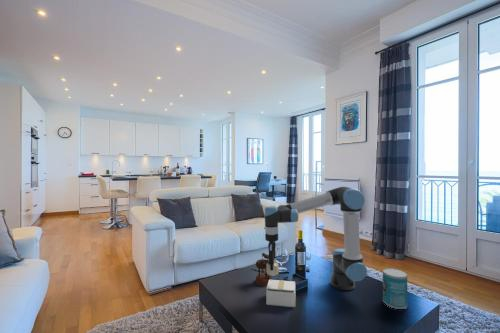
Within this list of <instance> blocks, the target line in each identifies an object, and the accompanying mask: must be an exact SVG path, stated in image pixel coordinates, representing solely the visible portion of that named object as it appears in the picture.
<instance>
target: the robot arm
mask: <svg viewBox="0 0 500 333" xmlns="http://www.w3.org/2000/svg"><path fill="white" fill-rule="evenodd" d="M365 203H366V202H365V196H364V193H363V192H362V191H361V190H359V189H357V188H354V187H348V186H340V187H337V188H333V189H330V190H326V192H325V193H322V194H318V195H315V196H312V197H308V198H305V199H302V200H299V201H295V202H292V203H291V202H290V203H287V204H285V205H284V204H280V205H278V206H275V205H274V206H271V205H270V206H266V207H264V228H263V229H264V230H265V231H264V232H265V234H264V235H265V237H264V238H265V241H266V242H268V245H267V246H268V255H269V259H268V261H269V263H268V264H269V271H270V276H272V277H275V276H274V262H275V263H277V262H276V259H277V255H276V254H277V253H276V245H277V243H276V242H277V241H279V224H282V223H297V222H298V221H299V215H300V214H302V213H306V212H308V211H312V210H316V209H319V208H323V207H325V206H326V207H327V206H335V205H339V206H340V211H341V212H342V214H343V216H342V217H343V241H344V242H343V243H344V247H343V248H336V249H335V248H334V250H332V274H331V276H330V279H329V281H330V282H329V284H330V286H332V287H333V288H335V289H337V290H339V291H340V290H341V291H352V290H354V289H355V288H356V283H355V282H360V281H362V280H363V279H364V278H365V277H366V276H367V273H368V269H367V266H366V265H365V264H364V256H363V255H362V254H361V245H360V241H361V240H360V213H361V212H362V207H363V206H364V204H365Z"/></svg>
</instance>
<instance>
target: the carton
mask: <svg viewBox="0 0 500 333" xmlns="http://www.w3.org/2000/svg"><path fill="white" fill-rule="evenodd" d="M265 292H266V294H265V295H266V296H265V297H266V299H265V300H266V301H265V303H266V305H267V306H277V307H286V308H296V290H295V291H284V290H272V289H267V288H266V291H265Z"/></svg>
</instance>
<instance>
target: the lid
mask: <svg viewBox="0 0 500 333" xmlns="http://www.w3.org/2000/svg"><path fill="white" fill-rule="evenodd" d="M267 289H272V290H284V291H295V292H296V281H291V280H283V279H281V280H280V279H279V280H278V279H271V280H269V282H268V285H267V286H266V290H267Z"/></svg>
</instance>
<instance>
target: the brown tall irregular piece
mask: <svg viewBox="0 0 500 333" xmlns="http://www.w3.org/2000/svg"><path fill="white" fill-rule="evenodd" d="M261 257H262V258H261V259H258V260H256V262H255V266H256V268H258V270H257V269H254V268H251V269H250V270H251V271H255V272H257V273H258V274H257V275H256V277H255V284H257V285H258V286H261V287H267V285H268V282H269V280H272V277H273V276H270V275H268V274H267V266H266V264H267V263H269V254H266V253H265V252H262V253H261ZM264 270H265V271H264Z"/></svg>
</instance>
